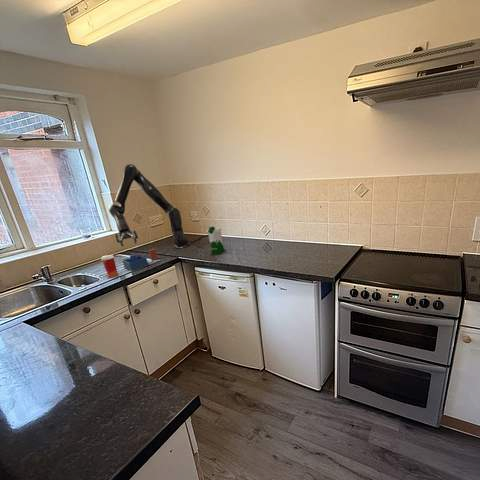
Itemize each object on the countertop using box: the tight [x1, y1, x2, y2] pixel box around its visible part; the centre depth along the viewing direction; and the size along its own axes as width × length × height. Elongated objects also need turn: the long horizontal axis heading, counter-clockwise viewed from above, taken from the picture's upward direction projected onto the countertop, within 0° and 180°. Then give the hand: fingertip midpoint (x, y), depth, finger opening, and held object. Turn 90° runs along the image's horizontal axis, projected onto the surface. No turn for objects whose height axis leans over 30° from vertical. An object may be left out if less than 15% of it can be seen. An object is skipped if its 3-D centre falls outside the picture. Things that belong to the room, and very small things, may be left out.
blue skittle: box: [129, 253, 138, 262], centre depth 213 cm, size 4×4×8 cm
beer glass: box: [100, 254, 119, 278], centre depth 197 cm, size 8×8×14 cm
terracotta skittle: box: [149, 248, 158, 261], centre depth 224 cm, size 4×4×8 cm
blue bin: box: [122, 255, 149, 271], centre depth 213 cm, size 12×12×6 cm
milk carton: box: [206, 226, 226, 255], centre depth 220 cm, size 9×9×20 cm
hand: (129, 244), depth 216 cm, fingers open, 8 cm apart
